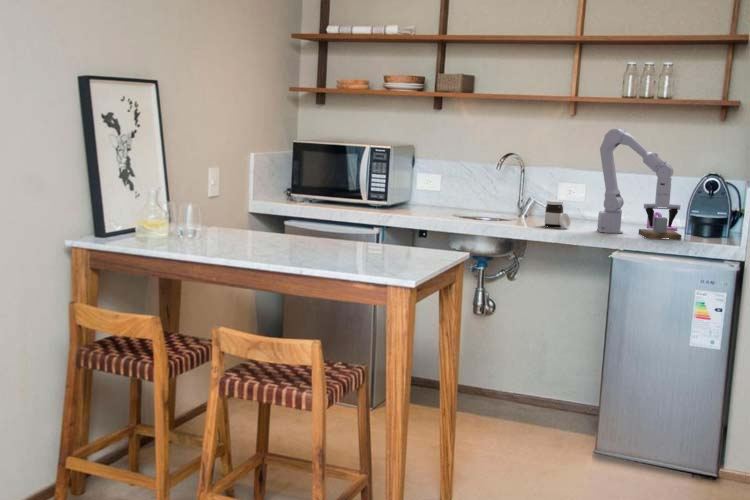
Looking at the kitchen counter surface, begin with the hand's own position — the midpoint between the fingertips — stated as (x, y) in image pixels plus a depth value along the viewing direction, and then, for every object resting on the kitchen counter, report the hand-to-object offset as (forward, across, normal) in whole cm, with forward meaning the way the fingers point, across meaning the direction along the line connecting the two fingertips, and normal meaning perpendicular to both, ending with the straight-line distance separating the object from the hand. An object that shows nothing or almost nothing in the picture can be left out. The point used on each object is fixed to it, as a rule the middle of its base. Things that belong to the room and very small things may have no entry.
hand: (660, 226), depth 355 cm
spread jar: (+5, -40, +17) cm, 44 cm away
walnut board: (+4, 0, 0) cm, 4 cm away
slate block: (+2, 0, 0) cm, 2 cm away
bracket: (+5, +8, +25) cm, 27 cm away
